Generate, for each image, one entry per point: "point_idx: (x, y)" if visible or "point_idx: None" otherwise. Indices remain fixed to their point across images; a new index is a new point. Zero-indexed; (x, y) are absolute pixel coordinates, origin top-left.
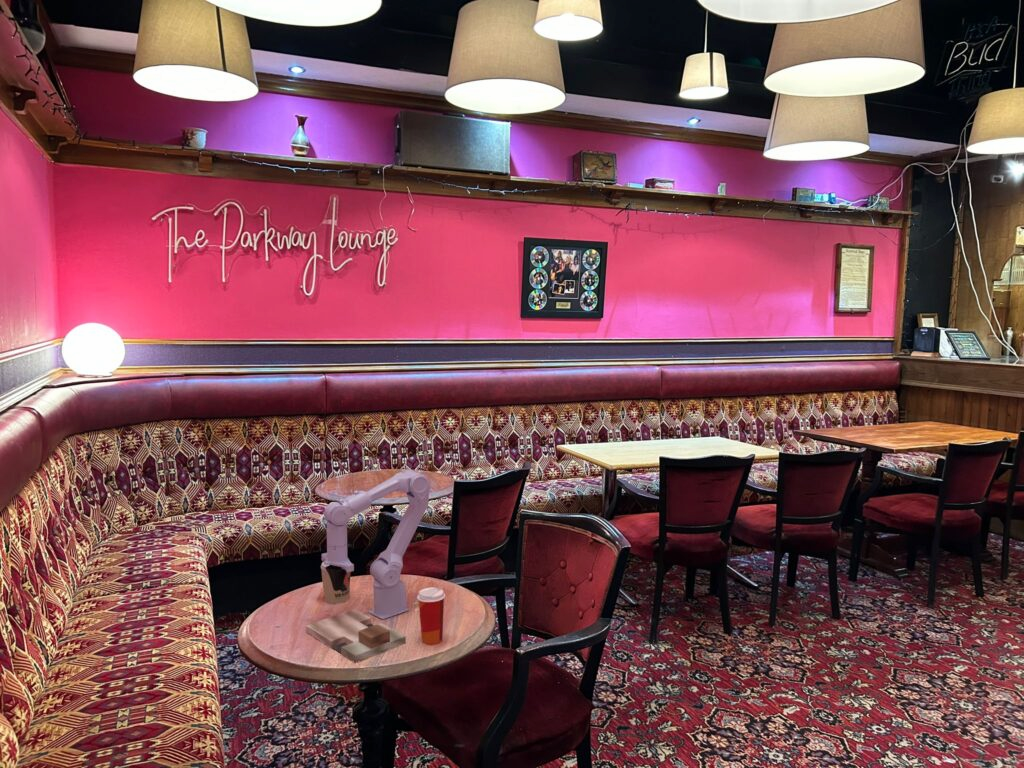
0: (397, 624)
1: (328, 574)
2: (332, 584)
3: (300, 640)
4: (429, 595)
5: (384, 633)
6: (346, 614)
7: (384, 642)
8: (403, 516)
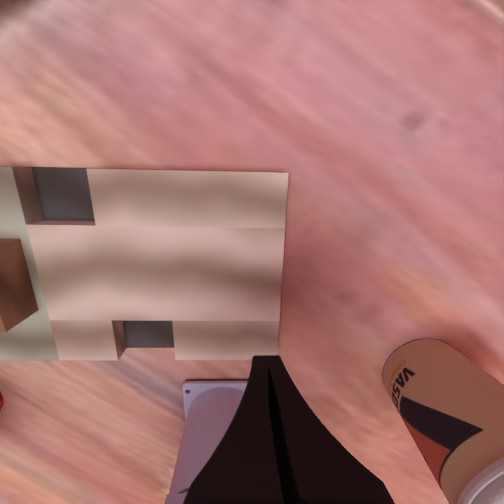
0: (130, 390)
1: (501, 435)
2: (281, 377)
3: (239, 119)
4: None
5: None
6: (259, 323)
7: None
8: None
